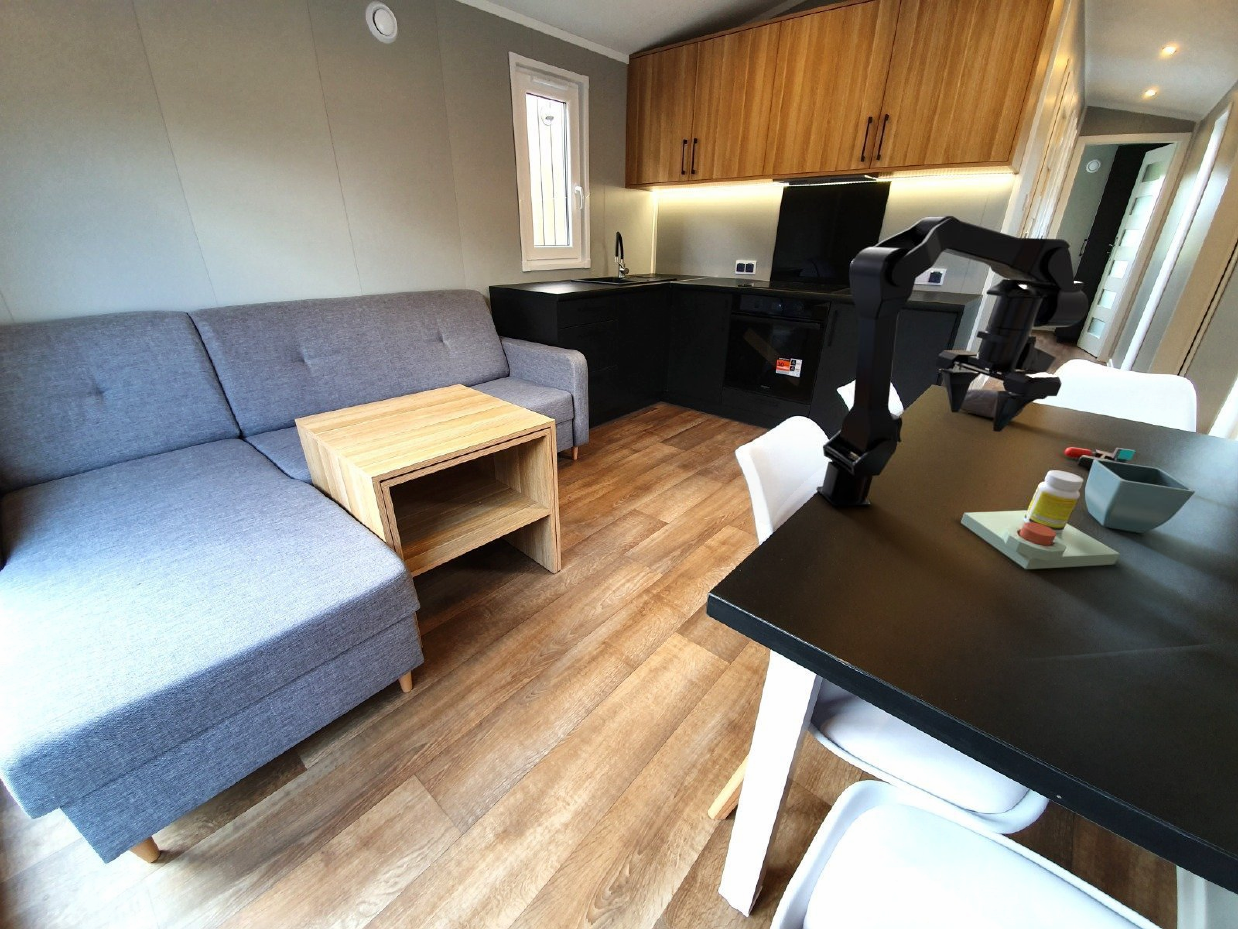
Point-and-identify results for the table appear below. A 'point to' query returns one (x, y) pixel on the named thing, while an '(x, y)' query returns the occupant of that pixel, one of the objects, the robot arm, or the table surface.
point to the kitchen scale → (1062, 552)
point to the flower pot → (1133, 495)
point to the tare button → (1037, 533)
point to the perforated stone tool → (981, 402)
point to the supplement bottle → (1054, 500)
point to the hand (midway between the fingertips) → (974, 421)
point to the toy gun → (1098, 455)
